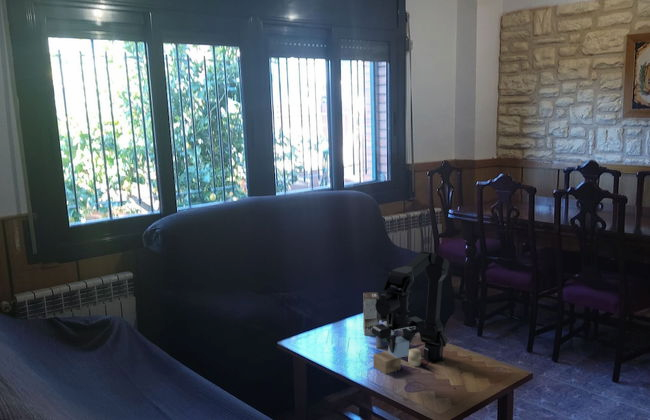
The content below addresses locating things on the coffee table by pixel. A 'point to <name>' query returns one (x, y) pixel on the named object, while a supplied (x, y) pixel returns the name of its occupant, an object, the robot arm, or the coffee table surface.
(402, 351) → the blue cube
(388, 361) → the tan block
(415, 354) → the beech cylinder
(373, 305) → the coffee box
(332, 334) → the coffee table surface
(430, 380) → the coffee table surface
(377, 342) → the flask
